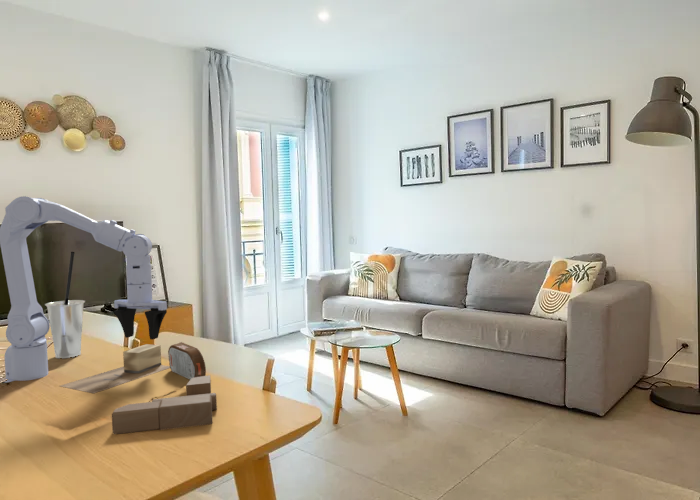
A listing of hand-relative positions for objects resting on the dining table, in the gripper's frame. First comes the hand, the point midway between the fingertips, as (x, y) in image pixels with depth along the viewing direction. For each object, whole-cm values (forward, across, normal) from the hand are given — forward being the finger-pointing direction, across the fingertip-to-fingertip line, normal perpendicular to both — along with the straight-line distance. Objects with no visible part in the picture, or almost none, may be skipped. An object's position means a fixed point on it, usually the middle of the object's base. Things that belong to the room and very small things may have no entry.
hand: (141, 337), depth 130 cm
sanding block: (+8, 0, 0) cm, 8 cm away
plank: (+9, -1, -7) cm, 11 cm away
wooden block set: (+10, +25, -21) cm, 34 cm away
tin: (+9, +14, -2) cm, 17 cm away
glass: (+9, -33, +8) cm, 35 cm away
